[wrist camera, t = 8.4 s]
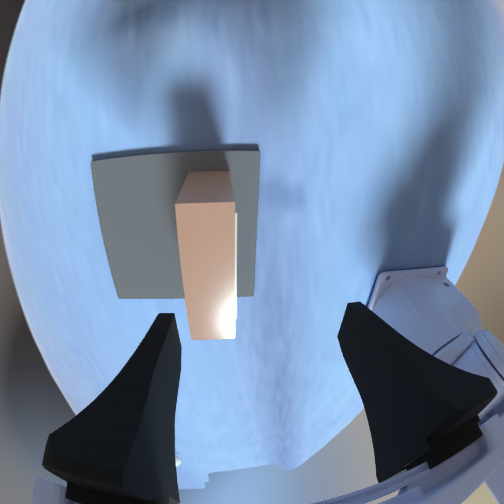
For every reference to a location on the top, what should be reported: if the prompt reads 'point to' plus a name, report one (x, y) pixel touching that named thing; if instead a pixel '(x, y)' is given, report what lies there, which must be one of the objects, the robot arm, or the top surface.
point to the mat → (167, 217)
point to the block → (208, 253)
